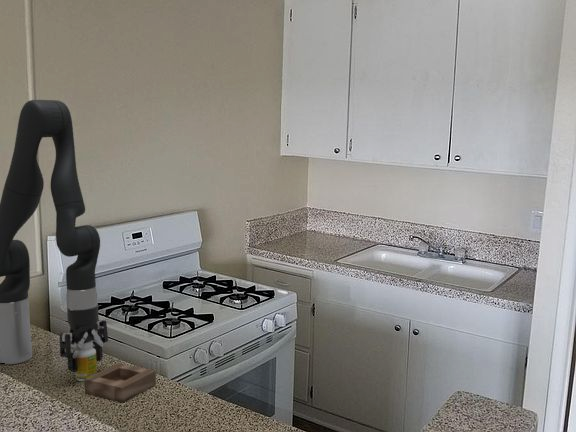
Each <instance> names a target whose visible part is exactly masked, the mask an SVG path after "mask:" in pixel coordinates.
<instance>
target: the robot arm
mask: <svg viewBox="0 0 576 432" xmlns="http://www.w3.org/2000/svg"><path fill="white" fill-rule="evenodd" d="M17 122H18V123H17V128H16V137H15V142H14V148H13V153H12V157H11V161H10V166H9V170H8V173H7V176H6V179H5V183H4V186H3V189H2V194H1V197H0V278H2V277H4V279H3V280H2V281H1V283H0V362H1V363H5V364H4V365H16V364H21V363H24V362H27V361H29V360H31V359H32V358H33V349H32V335H31V334H32V332H31V319H30V318H31V317H30V307H29V305H30V303H29V290H30V288H31V287H30V286H31V273H30V272H31V271H30V270H31V263H30V262H31V261H30V253H29V250H28V247H27V246H26V243H24V241H22V240H19V239H14V238H15V236H16V235H17V234H18V232H19V231H20V229H22V228H23V226H24V225H25V224H26V223H27V222H28V220H29V219H31V217H32V216H33V215H34V214H35V212H36V211H37V209H38V207H39V203H40V201H41V198H42V194H43V191H44V187H45V184H44V183H45V182H44V177H43V173H42V171H41V167H40V165H39V162H38V152H39V148H40V144H41V141H42V139H43V138H51V139H52V141H53V144H54V145H53V146H54V148H55V160H54V165H53V169H52V173H51V177H50V193H51V196H52V201H53V206H54V210H55V213H56V215H55V216H56V217H55V218H56V219H55V220H56V221H55V223H56V224H55V243H56V247H57V249H58V251H59V252H60V253H61V254H62V255H64V256H65V257H69V258H71V257H75V256H77V258H76V260H75V261H73V263H72V264H70V265H67V267H66V270H65V280H66V297H65V298H66V299H65V300H66V310H67V311H66V315H67V324H68V325H69V327H70V329H69V331H68V332H66V333H65V332H63V333H62V332H60V333H59V356H60V357H62V358H66V359H67V368H68V370H69V372H71V373H75V372H77V371H78V366H77V357H76V356H77V353H78V351H79V350H80V349H81V348H82V345H83V344H84V343H87V342H89V341H93V346H92V347H93V348H94V349H95V350H96V361H97V362H101V361H102V359H103V356H104V355H103V346H104V344H105V343H108V341H109V334H108V324H107V321H106V320H105V319H104V320H103V319H99V318H100V317H99V304H98V303H99V301H98V300H99V299H98V291H97V284H96V283H97V281H96V267H97V264H98V259H99V253H100V249H101V238H100V234H99V232H98V230H97V229H96V228H95V226H92V225H90V224H85V225H79V226H76V221H77V218H78V217H81V216H82V215H83V216H84V214H85V213H86V205H85V202H84V198H83V194H82V193H83V192H82V189H81V185H80V182H79V177H78V171H77V161H76V150H75V149H76V148H75V140H74V139H75V138H74V136H75V135H74V127H73V120H72V115H71V112H70V110H69V107H68V105H66V103H65V102H63V101H61V100H57V99H55V100H54V99H31V100H28V101H26V102H25V103H24V104H23V106H22V107H21V110H20V114H19V117H18V121H17ZM76 344H77V345H76Z"/></svg>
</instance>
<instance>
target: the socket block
mask: <svg viewBox="0 0 576 432" xmlns="http://www.w3.org/2000/svg"><path fill="white" fill-rule="evenodd" d="M156 374H157V373H156V370H153V369H148V368H144V367H139V366H134V365H129V364H125V363H120V362H118V363H116V364H114V365H112V366H109V367H107V368H105V369H103V370H101V371H97V373H96V374H94V375H92V376H90V377H88V378H86V379H84V381H83V382H84V394H87V395H90V396H95V397H98V398H102V399H106V400H111V401H113V402H114V401H115V402H119V403H125V402H127V401H129V400H131V399H132V398H134V397H136V396H138V395H140V394H141V393H143V392H145V391H147V390H149V389H151V388H152V387H154V386H156V385H157V381H156V379H157V375H156Z"/></svg>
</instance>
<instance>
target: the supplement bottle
mask: <svg viewBox="0 0 576 432" xmlns="http://www.w3.org/2000/svg"><path fill="white" fill-rule="evenodd" d="M75 345H77V344H76V343H75ZM93 346H94V345H93V341H89V342H87V343H84V344H83V345H82V348H81V349H80V350H79V351H78V353H77V356H76V357H77V366H78V371H77V372H74V375H75V380H76V381H79V382H84V379H86V378H88V377H90V376H92V375H94V374H96V373H98V365H97V363H98V361H96V350H95V349H94V348H93Z"/></svg>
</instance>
